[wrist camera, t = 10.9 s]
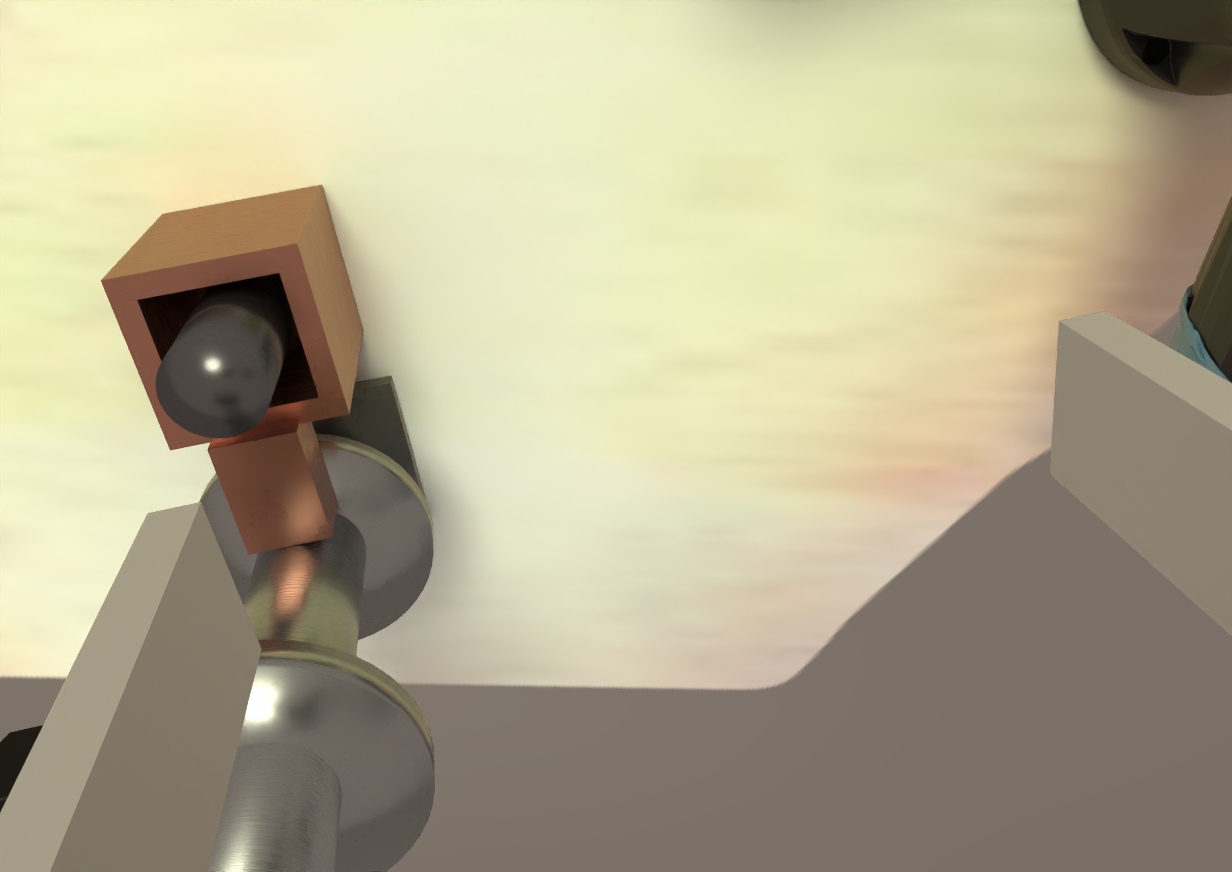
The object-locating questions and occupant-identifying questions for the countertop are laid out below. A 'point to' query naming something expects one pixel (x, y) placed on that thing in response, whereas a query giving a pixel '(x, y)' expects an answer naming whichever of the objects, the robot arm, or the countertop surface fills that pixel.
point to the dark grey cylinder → (227, 358)
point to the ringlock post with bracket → (302, 542)
